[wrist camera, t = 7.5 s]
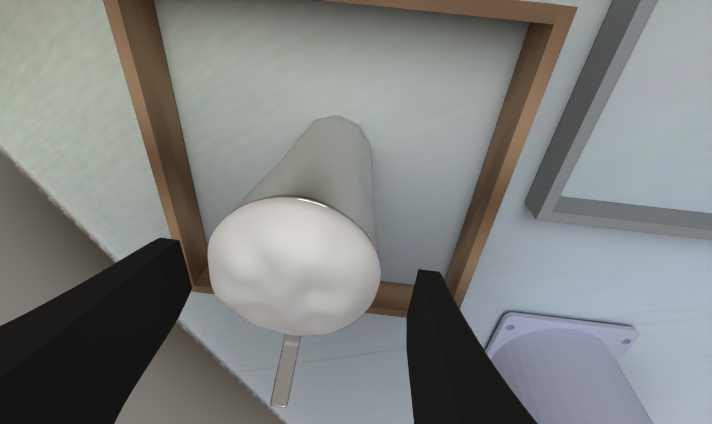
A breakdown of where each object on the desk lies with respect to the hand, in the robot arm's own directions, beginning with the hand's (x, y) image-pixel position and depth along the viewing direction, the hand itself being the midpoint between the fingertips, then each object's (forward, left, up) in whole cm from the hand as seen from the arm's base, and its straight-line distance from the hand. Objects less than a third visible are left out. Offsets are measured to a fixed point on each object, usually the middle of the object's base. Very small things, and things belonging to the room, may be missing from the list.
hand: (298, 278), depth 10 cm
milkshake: (+1, 0, -7) cm, 7 cm away
